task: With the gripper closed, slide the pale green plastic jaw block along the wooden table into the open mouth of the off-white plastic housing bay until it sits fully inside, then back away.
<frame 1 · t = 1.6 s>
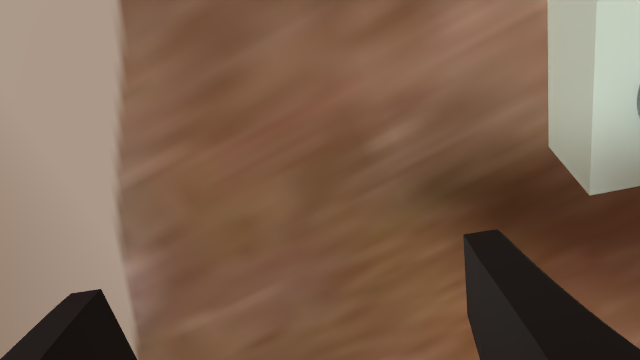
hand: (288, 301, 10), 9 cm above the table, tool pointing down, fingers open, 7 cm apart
jaw block: (637, 47, 18), on the table
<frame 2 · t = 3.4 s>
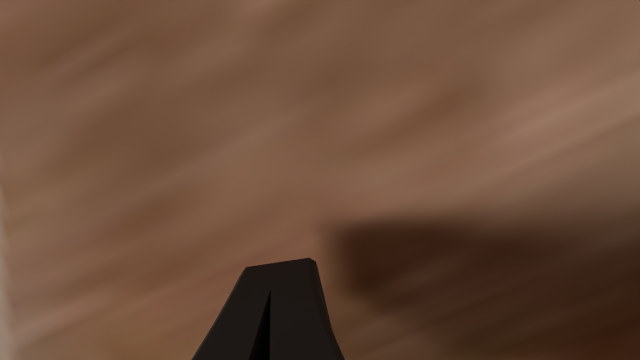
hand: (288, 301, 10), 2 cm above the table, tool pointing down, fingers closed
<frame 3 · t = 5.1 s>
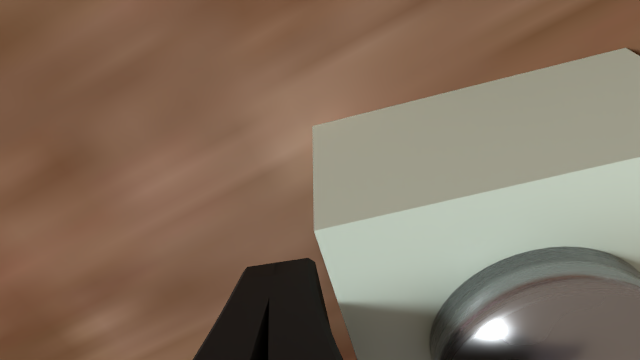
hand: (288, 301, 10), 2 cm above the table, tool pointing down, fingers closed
jaw block: (480, 213, 12), on the table, touching gripper
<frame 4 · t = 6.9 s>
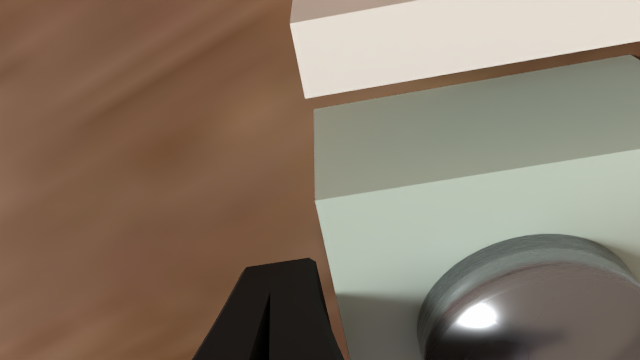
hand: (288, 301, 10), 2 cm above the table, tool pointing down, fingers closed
jaw block: (470, 204, 12), on the table
housing bay: (573, 198, 12), on the table
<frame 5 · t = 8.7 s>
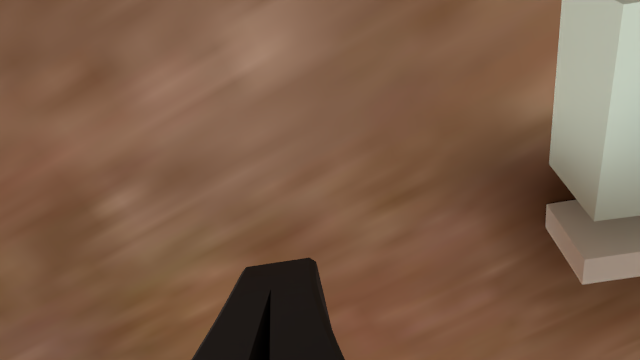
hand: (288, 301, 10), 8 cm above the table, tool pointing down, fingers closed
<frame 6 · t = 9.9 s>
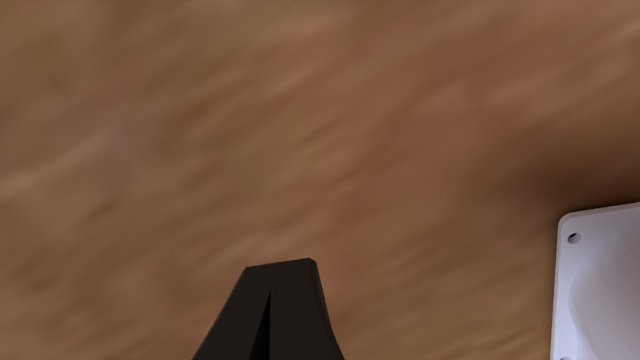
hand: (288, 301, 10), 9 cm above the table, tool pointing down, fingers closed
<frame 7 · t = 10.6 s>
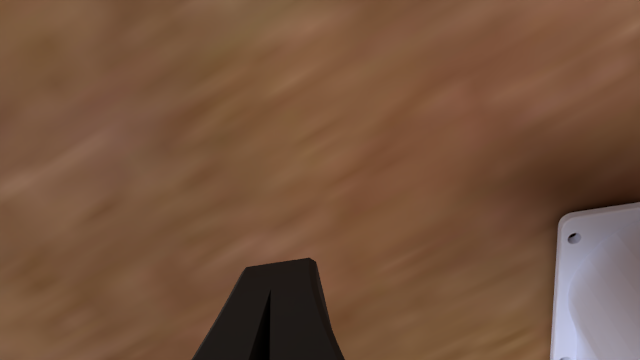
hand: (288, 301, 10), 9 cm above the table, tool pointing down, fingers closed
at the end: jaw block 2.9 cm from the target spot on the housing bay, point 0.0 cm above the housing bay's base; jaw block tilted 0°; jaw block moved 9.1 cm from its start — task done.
